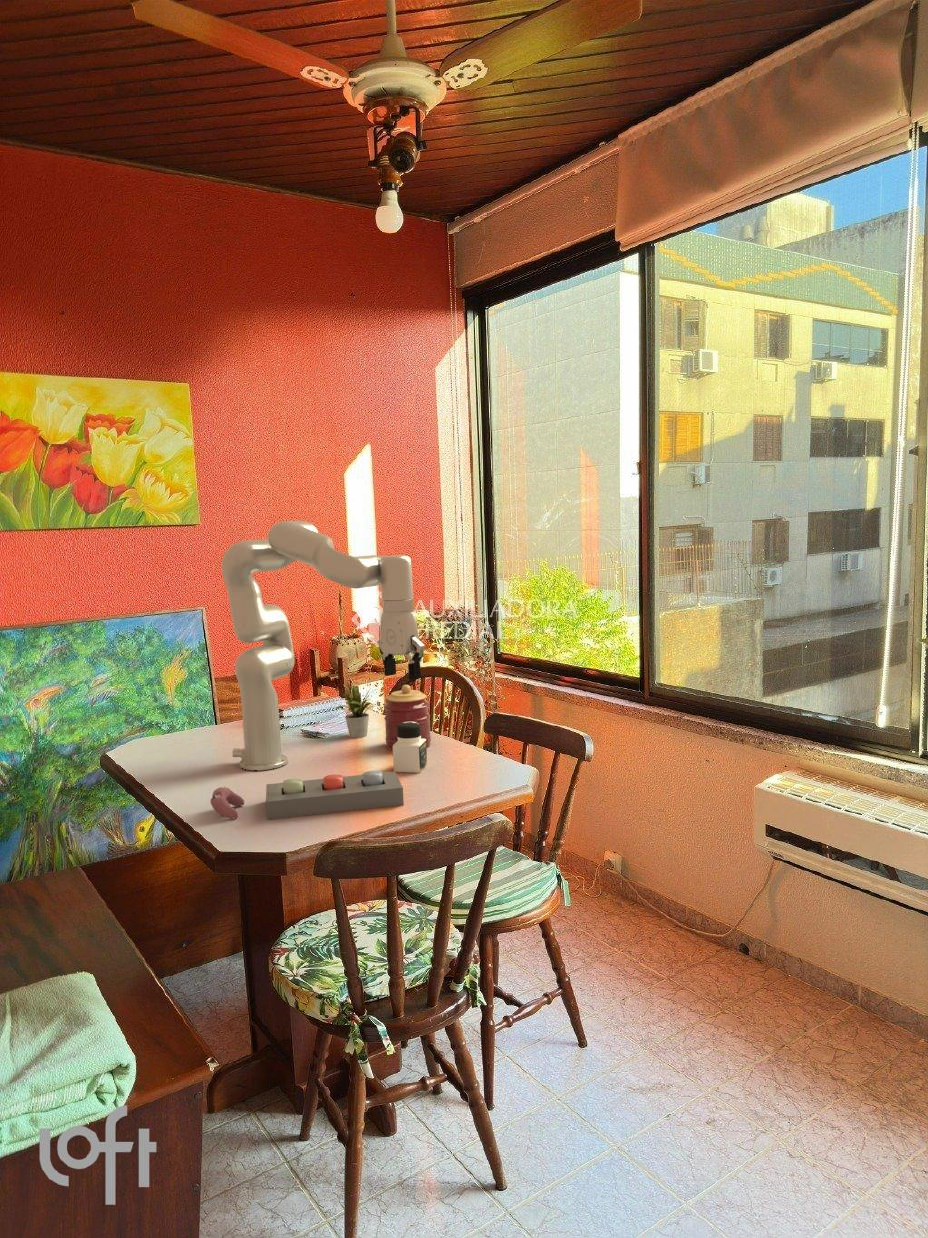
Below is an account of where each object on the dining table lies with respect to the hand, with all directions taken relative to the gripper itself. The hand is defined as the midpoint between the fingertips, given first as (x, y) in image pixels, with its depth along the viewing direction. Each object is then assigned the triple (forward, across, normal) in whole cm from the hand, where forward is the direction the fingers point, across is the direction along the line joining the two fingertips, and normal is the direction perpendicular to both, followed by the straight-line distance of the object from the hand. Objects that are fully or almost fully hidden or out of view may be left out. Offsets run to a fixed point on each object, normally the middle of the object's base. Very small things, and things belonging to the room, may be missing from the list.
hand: (402, 677), depth 206 cm
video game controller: (+26, -12, -42) cm, 51 cm away
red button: (+23, 0, -22) cm, 32 cm away
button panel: (+26, 0, -22) cm, 34 cm away
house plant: (+26, -48, +17) cm, 57 cm away
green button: (+23, -4, -30) cm, 38 cm away
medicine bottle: (+26, -8, +7) cm, 28 cm away
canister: (+26, -26, +20) cm, 42 cm away
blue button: (+23, +5, -14) cm, 27 cm away
